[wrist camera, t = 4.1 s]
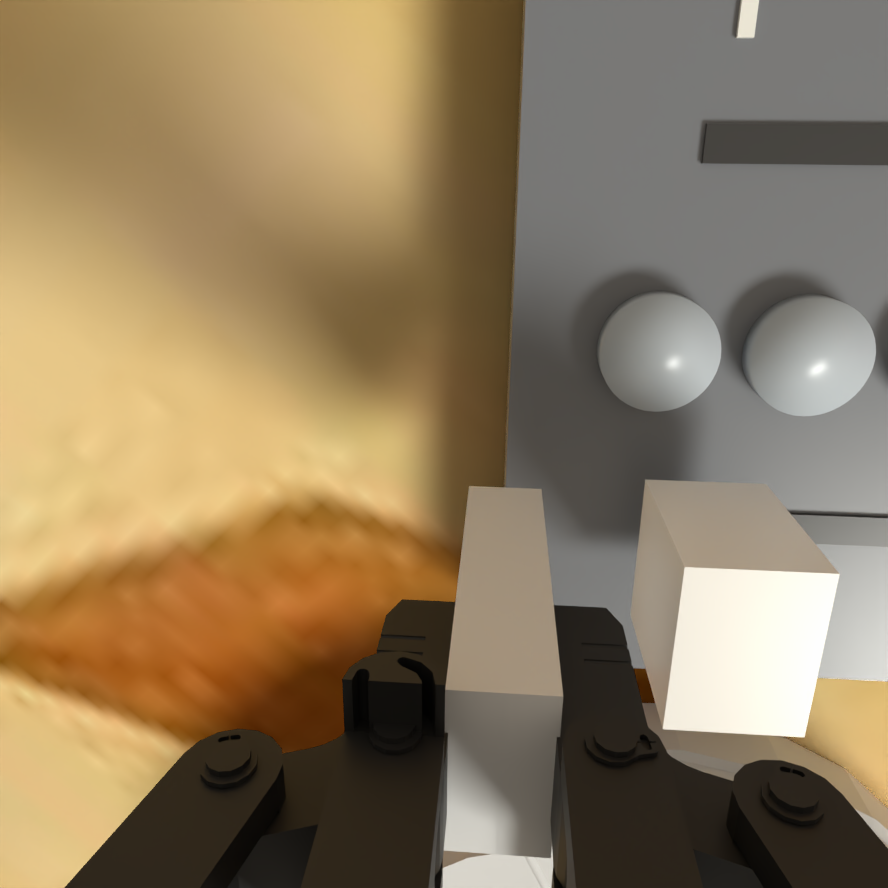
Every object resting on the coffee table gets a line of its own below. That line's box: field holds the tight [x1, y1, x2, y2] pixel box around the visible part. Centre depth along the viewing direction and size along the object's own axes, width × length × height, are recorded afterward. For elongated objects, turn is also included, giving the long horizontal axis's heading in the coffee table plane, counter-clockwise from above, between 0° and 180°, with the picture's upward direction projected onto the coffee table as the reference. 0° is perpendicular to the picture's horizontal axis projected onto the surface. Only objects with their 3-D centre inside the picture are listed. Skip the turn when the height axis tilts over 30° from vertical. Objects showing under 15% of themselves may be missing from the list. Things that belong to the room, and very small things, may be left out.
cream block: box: [630, 479, 840, 737], centre depth 15 cm, size 2×3×5 cm
